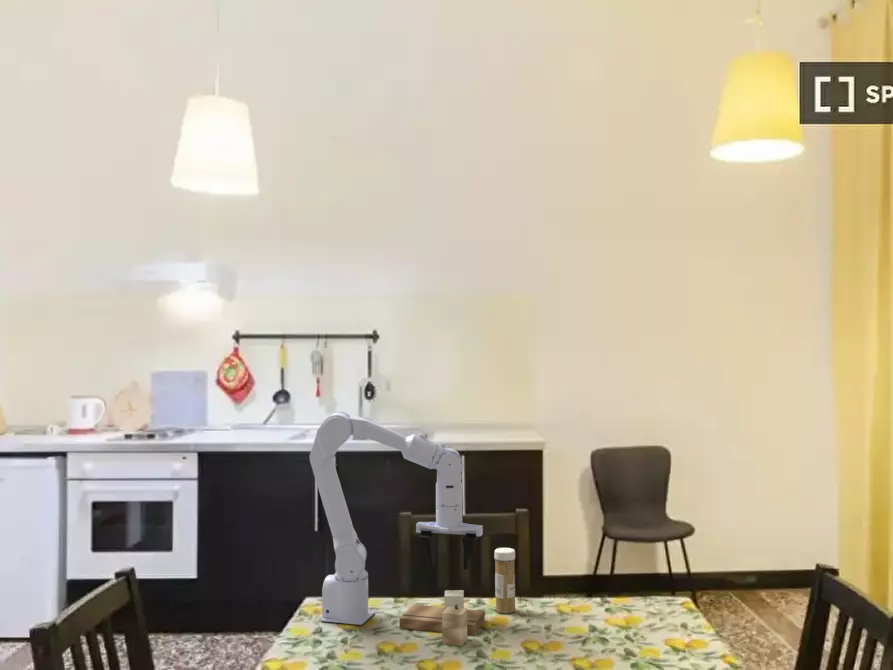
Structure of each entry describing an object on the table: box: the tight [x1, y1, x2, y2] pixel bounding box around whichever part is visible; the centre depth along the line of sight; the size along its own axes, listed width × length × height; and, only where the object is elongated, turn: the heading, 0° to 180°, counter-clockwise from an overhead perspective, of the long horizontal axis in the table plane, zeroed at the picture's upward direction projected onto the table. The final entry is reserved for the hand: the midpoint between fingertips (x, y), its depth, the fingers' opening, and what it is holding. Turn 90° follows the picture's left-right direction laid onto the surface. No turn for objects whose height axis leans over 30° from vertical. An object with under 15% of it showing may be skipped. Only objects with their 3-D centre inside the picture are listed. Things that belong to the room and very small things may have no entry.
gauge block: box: [441, 604, 468, 647], centre depth 157 cm, size 4×4×7 cm
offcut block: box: [444, 589, 465, 609], centre depth 168 cm, size 4×4×4 cm
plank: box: [399, 604, 486, 636], centre depth 167 cm, size 16×9×2 cm, turn 74°
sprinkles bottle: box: [493, 547, 516, 615], centre depth 175 cm, size 5×5×14 cm
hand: (449, 567), depth 172 cm, fingers open, 7 cm apart
